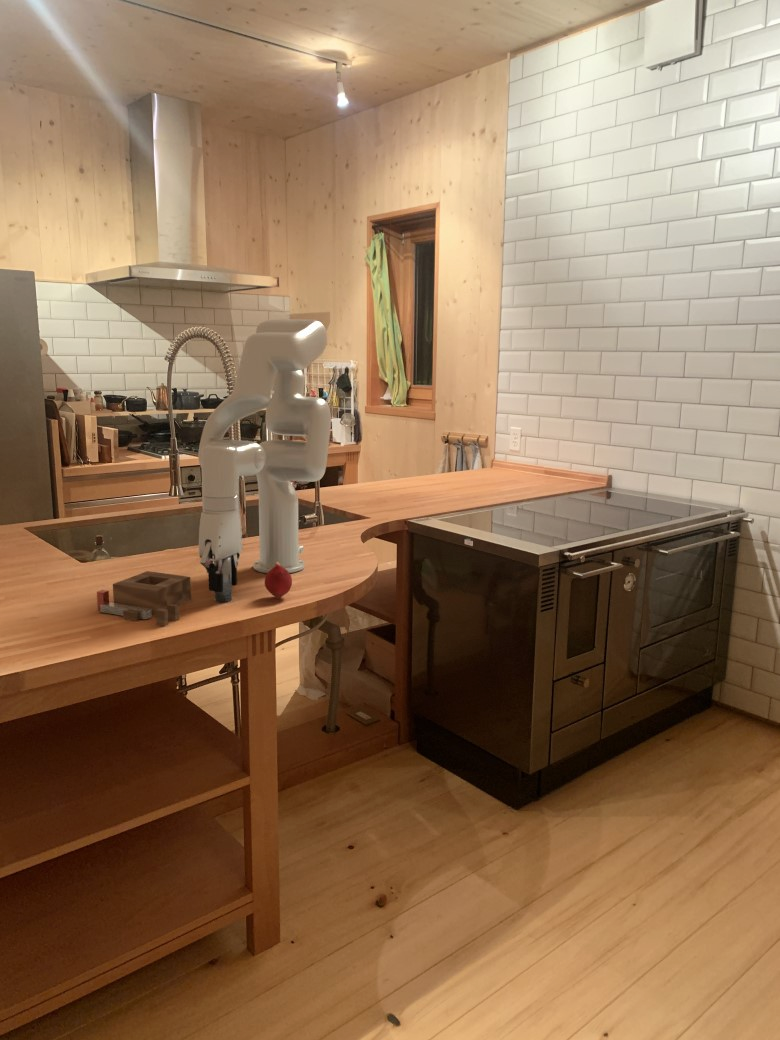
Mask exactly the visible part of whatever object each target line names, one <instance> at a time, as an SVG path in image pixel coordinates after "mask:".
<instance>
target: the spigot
mask: <svg viewBox="0 0 780 1040" xmlns="http://www.w3.org/2000/svg"><path fill="white" fill-rule="evenodd" d="M214 557H215V556H213V558H214ZM213 563H214V565H215V566H216V563H217V562H214V561H213ZM221 573H222V574H223V592H214V602H217V603H219V604H220V603H221V604H223V603H229V602H232V601H233V588H232V587H233V585H232V574H231V556H229V557H227V558H224V559H222V566H221Z"/></svg>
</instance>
